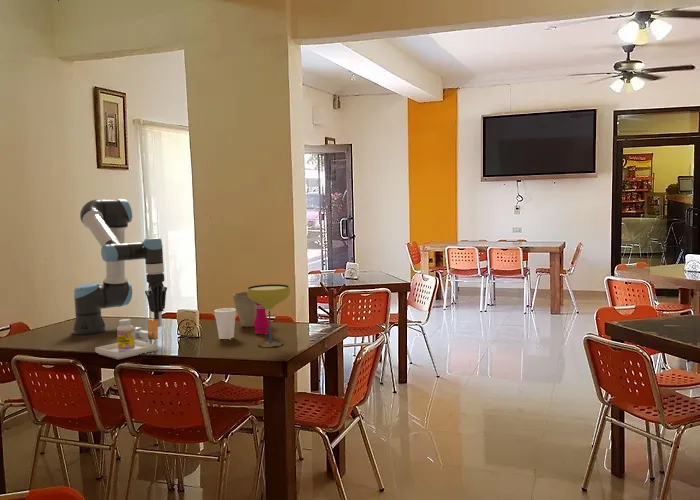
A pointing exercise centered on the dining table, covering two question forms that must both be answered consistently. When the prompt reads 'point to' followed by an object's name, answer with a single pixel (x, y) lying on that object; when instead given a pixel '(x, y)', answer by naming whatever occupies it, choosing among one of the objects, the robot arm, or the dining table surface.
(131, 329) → the supplement bottle
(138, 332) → the crank lever
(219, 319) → the foam cup
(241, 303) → the plant pot
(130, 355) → the tray
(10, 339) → the dining table surface
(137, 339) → the crank base
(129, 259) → the robot arm
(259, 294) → the cocktail glass
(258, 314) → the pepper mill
